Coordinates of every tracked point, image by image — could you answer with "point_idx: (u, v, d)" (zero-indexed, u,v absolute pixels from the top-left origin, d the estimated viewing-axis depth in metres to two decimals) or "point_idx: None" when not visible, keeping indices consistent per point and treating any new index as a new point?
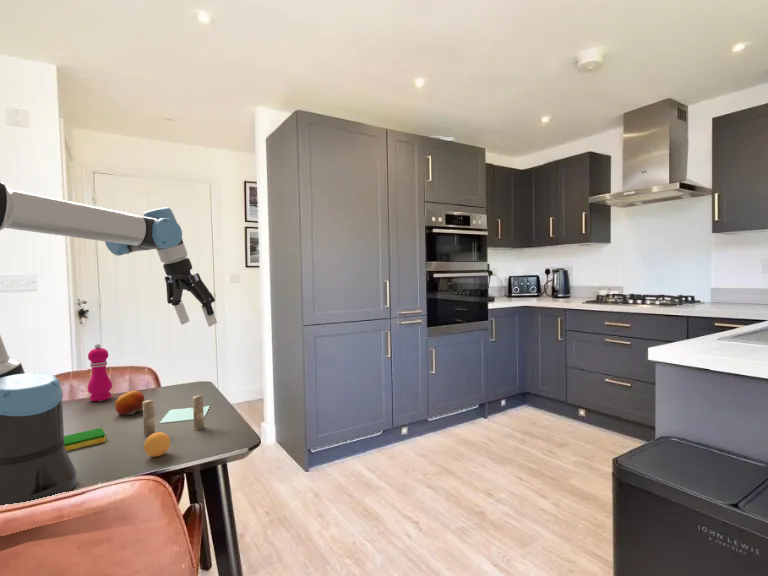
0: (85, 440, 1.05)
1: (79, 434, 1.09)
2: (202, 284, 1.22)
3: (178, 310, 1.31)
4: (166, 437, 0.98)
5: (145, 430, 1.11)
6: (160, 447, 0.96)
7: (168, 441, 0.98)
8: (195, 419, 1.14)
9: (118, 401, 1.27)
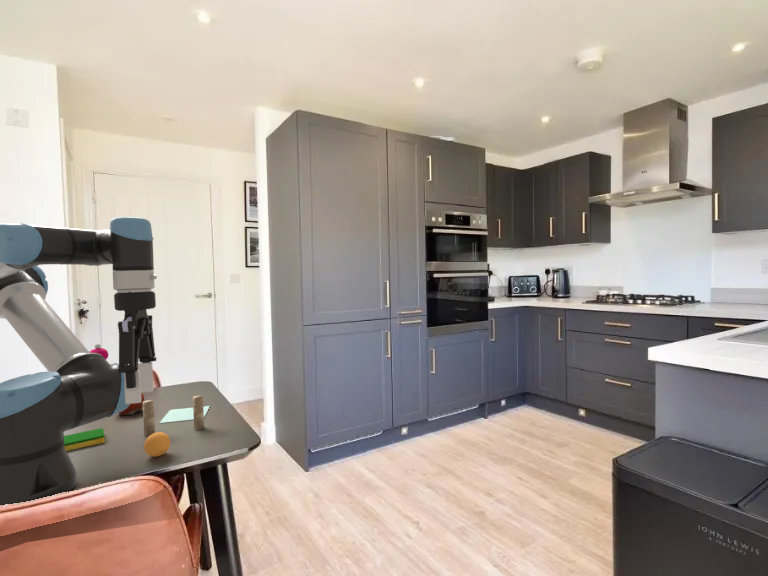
0: (84, 440, 1.05)
1: (79, 434, 1.09)
2: (129, 340, 0.81)
3: (140, 371, 0.91)
4: (166, 437, 0.98)
5: (145, 430, 1.11)
6: (160, 447, 0.96)
7: (168, 441, 0.98)
8: (195, 419, 1.14)
9: None
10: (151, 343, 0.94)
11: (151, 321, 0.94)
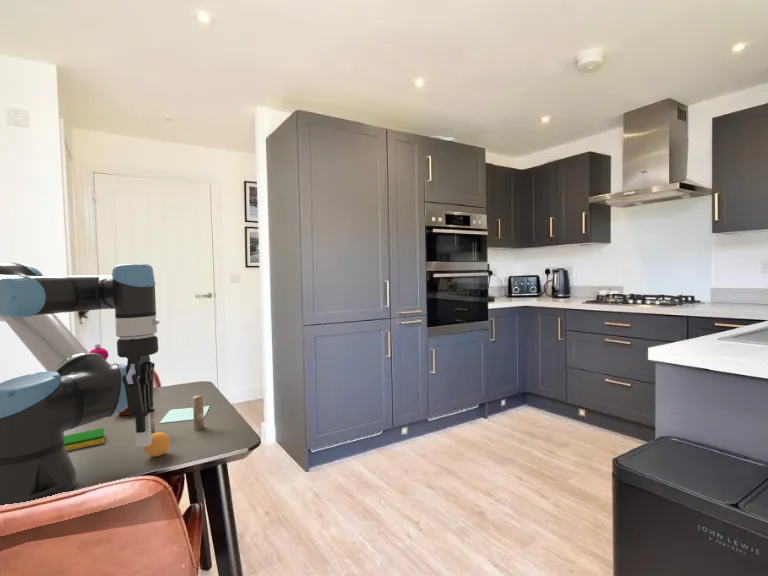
0: (83, 441, 1.05)
1: (80, 434, 1.09)
2: (135, 391, 0.83)
3: None
4: (166, 437, 0.98)
5: None
6: (160, 447, 0.96)
7: (168, 441, 0.98)
8: (195, 419, 1.14)
9: None
10: (150, 391, 0.91)
11: (153, 369, 0.93)
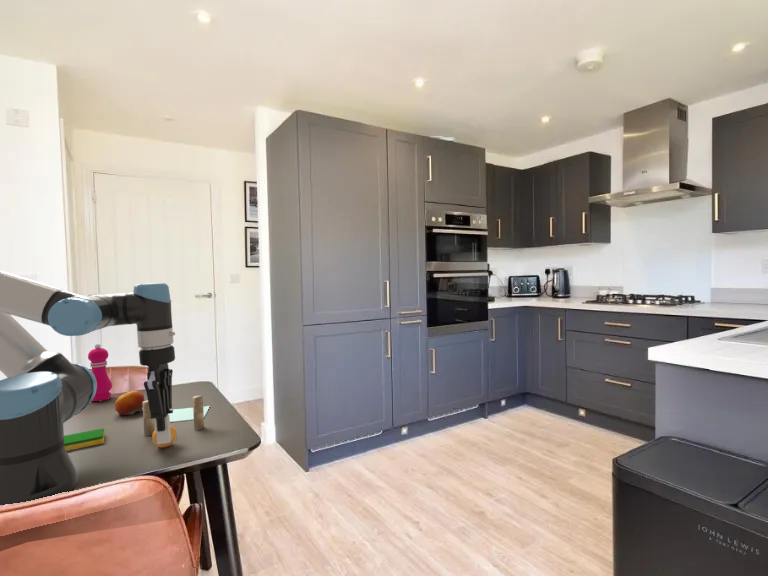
0: (83, 441, 1.05)
1: (80, 434, 1.09)
2: (155, 395, 0.95)
3: None
4: None
5: (145, 430, 1.11)
6: None
7: None
8: (195, 419, 1.14)
9: (118, 401, 1.27)
10: (169, 394, 1.03)
11: (171, 374, 1.05)
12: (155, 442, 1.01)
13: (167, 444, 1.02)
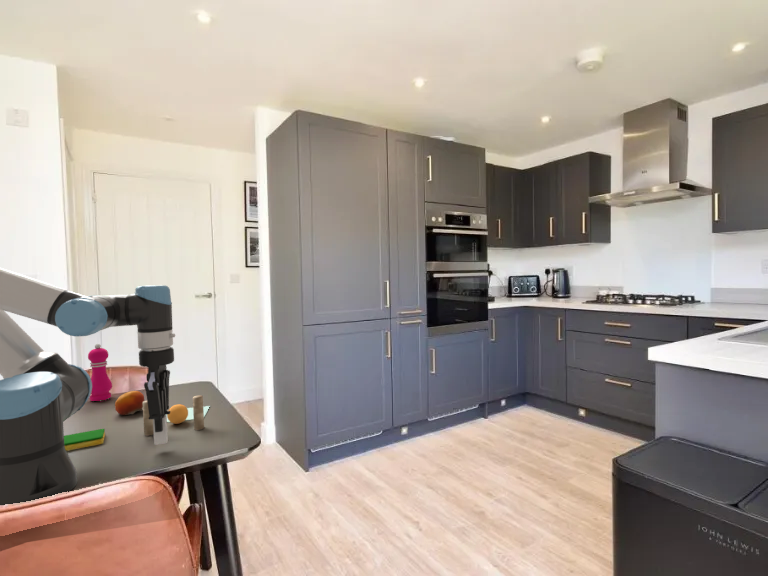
0: (82, 441, 1.05)
1: (80, 434, 1.08)
2: (155, 396, 0.96)
3: None
4: None
5: (145, 430, 1.11)
6: (181, 405, 1.20)
7: (187, 410, 1.21)
8: (195, 419, 1.14)
9: (118, 401, 1.27)
10: (166, 395, 1.04)
11: (169, 376, 1.06)
12: (170, 419, 1.18)
13: (180, 421, 1.19)
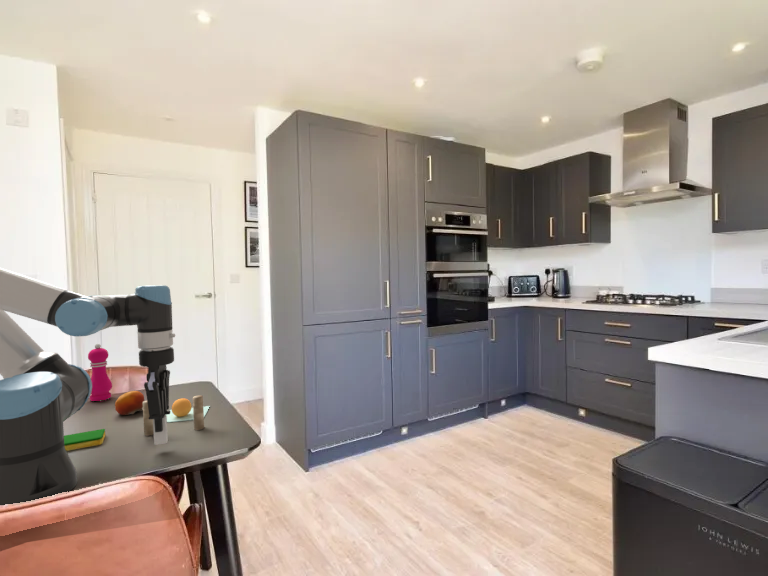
0: (81, 441, 1.04)
1: (81, 434, 1.08)
2: (155, 396, 0.96)
3: None
4: None
5: (145, 430, 1.11)
6: None
7: None
8: (195, 419, 1.14)
9: (118, 401, 1.27)
10: (166, 395, 1.04)
11: (169, 376, 1.06)
12: None
13: (184, 399, 1.26)
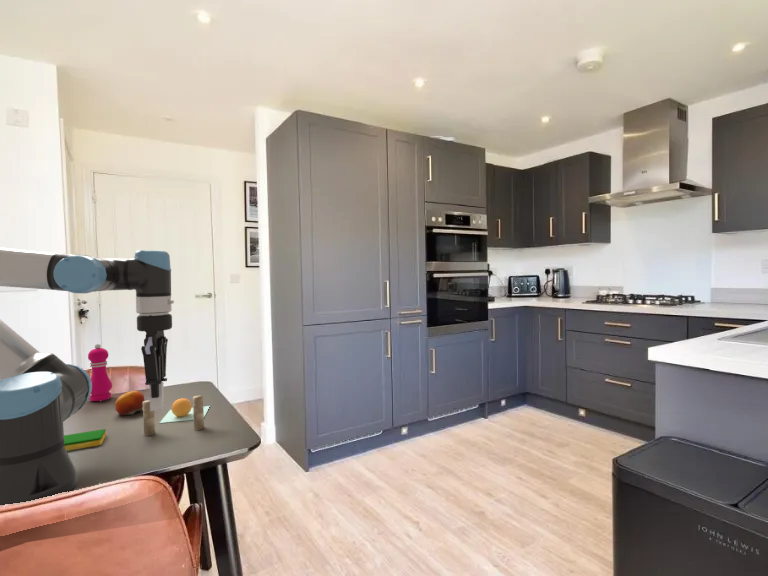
0: (80, 442, 1.04)
1: (81, 434, 1.08)
2: (152, 360, 0.96)
3: None
4: None
5: (145, 430, 1.11)
6: None
7: None
8: (195, 419, 1.14)
9: (118, 401, 1.27)
10: (164, 363, 1.04)
11: (166, 343, 1.06)
12: None
13: (184, 399, 1.26)
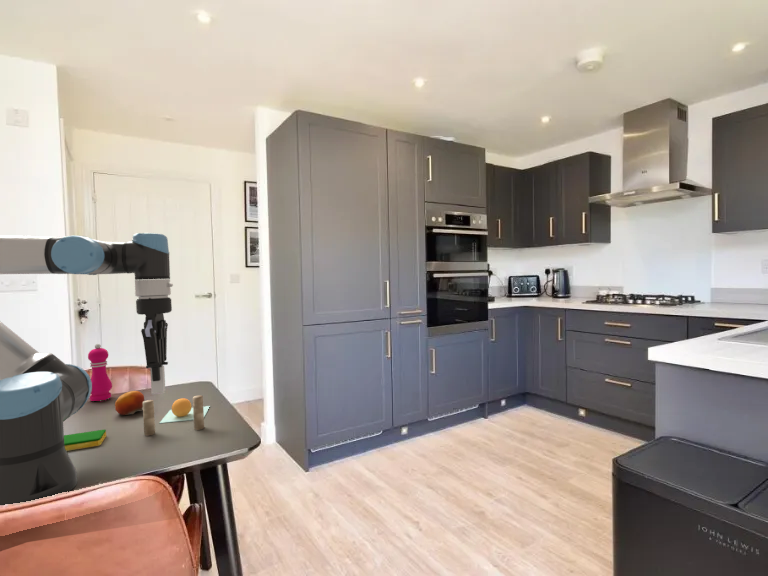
0: (79, 442, 1.04)
1: (81, 434, 1.08)
2: (152, 343, 0.96)
3: None
4: None
5: (145, 430, 1.11)
6: None
7: None
8: (195, 419, 1.14)
9: (118, 401, 1.27)
10: (164, 347, 1.04)
11: (166, 328, 1.06)
12: None
13: (184, 399, 1.26)
